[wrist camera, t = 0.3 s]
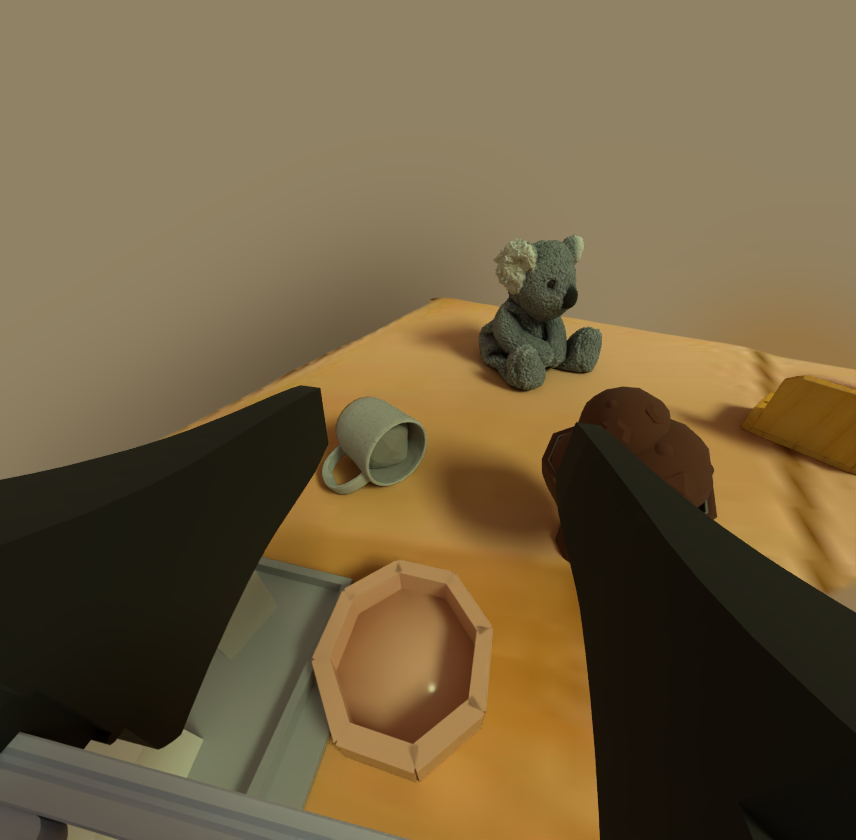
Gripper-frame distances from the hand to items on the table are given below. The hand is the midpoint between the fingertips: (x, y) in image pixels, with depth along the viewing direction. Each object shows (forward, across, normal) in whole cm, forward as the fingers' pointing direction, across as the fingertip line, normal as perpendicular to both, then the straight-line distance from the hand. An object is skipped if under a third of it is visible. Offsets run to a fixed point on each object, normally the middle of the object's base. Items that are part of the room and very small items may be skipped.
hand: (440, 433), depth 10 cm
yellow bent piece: (+31, -40, +17) cm, 53 cm away
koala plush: (+48, -10, +18) cm, 52 cm away
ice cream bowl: (+13, -13, +19) cm, 26 cm away
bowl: (+2, +1, +21) cm, 21 cm away
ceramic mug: (+19, +9, +21) cm, 29 cm away
